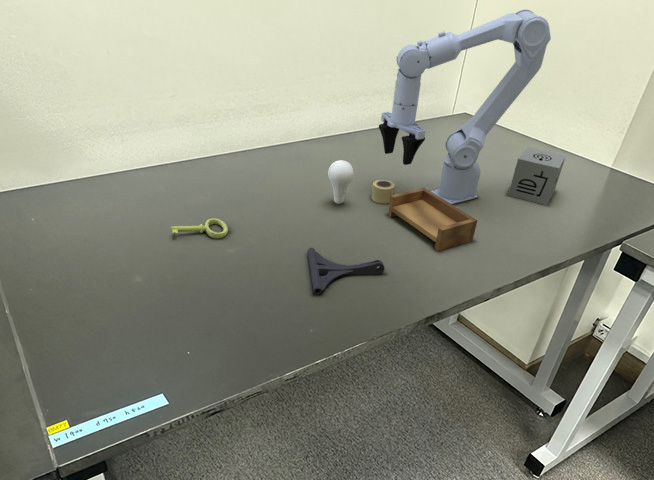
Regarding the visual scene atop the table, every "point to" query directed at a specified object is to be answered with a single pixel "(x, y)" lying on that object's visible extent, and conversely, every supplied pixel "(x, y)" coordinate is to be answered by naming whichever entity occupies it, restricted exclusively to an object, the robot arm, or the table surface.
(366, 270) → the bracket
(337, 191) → the lightbulb
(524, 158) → the icon cube
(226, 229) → the key
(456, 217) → the shelf
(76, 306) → the table surface
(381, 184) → the tape roll
